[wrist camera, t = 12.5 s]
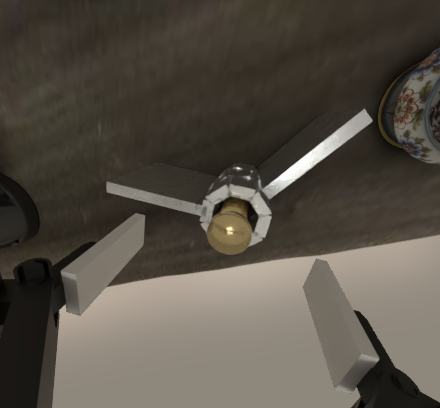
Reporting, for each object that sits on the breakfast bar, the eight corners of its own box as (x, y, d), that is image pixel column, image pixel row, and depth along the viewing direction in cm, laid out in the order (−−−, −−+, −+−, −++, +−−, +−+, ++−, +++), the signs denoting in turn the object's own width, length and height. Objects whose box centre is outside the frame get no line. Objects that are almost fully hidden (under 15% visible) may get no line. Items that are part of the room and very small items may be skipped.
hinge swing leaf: (239, 215, 33) (232, 259, 23) (209, 184, 32) (187, 214, 21) (337, 139, 27) (393, 149, 16) (305, 96, 26) (342, 77, 15)
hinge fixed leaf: (154, 185, 34) (107, 215, 23) (158, 143, 31) (105, 154, 20) (257, 211, 33) (258, 255, 22) (269, 169, 30) (279, 195, 19)
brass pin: (225, 194, 33) (203, 248, 19) (230, 170, 31) (210, 210, 17) (249, 200, 32) (245, 259, 19) (256, 176, 31) (256, 221, 17)
